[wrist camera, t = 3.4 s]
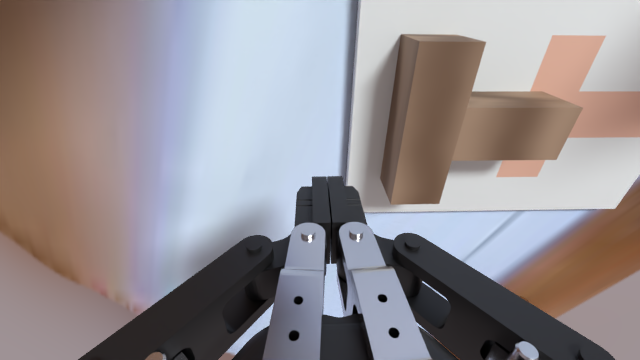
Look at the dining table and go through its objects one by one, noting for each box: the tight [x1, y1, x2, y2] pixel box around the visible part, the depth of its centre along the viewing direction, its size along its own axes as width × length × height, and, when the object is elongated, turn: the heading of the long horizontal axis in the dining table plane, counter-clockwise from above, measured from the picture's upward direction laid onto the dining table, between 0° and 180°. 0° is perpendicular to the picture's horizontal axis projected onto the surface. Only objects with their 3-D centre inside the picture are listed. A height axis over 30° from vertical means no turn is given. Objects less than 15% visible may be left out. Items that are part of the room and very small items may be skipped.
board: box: [346, 0, 640, 212], centre depth 24 cm, size 28×20×1 cm
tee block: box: [380, 34, 583, 205], centre depth 22 cm, size 12×12×4 cm
